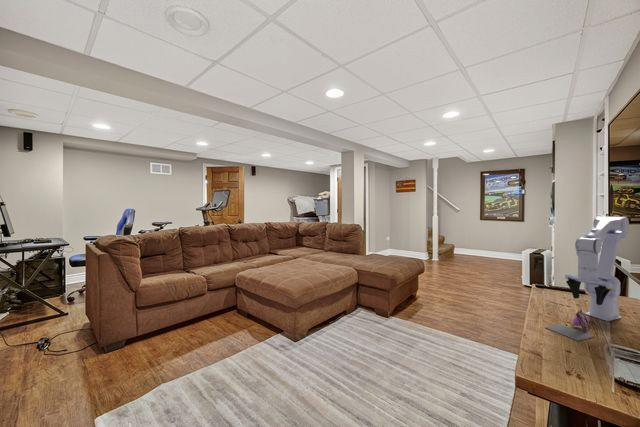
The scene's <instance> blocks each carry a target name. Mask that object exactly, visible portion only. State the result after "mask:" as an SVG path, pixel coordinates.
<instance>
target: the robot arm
mask: <svg viewBox="0 0 640 427" xmlns="http://www.w3.org/2000/svg"><path fill="white" fill-rule="evenodd" d="M629 220H630V219H629V218H628V217H626V216H598V215H597V216H595V217H594V218H593V222H592V223H593V224H592V225H593V228H591V229H589V230H588V231H587V232H586V233H585V234H584V235H583V237H579V238H577V239H576V240H575V243H574V244H575V245H574V248H575V251H576V254H575V255H576V256H577V274H571V273H567V274H565V276H564V278H565V280H566V281H565V282H566V284H567V286H568V287H569V289H570V292H571V293H572V298H573V299H574V300H575V299H580V290H581V289H580V287H581V284H582V283H584V284H583V287H584V290H585V292H586V293H587V294H588V295H589V311H585V316H590V317H593V318H596V319H600V320H603V321H605V322H609V321H613V320H619V319H622V318H623V317H622V316H620V302H619V299H618V298H619V297H620V295H621V281H620V280H619V279H618V278H617V277H615V276H614V275H613V273H614V268H615V264H616V258H617V254H618V250H619V244H620V242H621V240H623V239H626V238H627V236H628V231H629V229H630V221H629ZM599 253H600V254H599Z"/></svg>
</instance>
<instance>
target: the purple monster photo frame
mask: <svg viewBox="0 0 640 427" xmlns="http://www.w3.org/2000/svg"><path fill="white" fill-rule="evenodd" d="M585 313H586V311H585V310H583V309H582V308H581V309H579V311H577V312H576V313H575V317H573V318H572V320H571V321H572V325H571V326H570V327H571V328H574V326H576V327H581V329H582V332H584V333H587V332H588V330H589V329H590V328H591V325H590V321H589V319H588V318H587V315H586V314H585ZM585 323H587V325H588V326H587V327H586V324H585Z"/></svg>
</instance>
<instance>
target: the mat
mask: <svg viewBox="0 0 640 427" xmlns="http://www.w3.org/2000/svg"><path fill="white" fill-rule="evenodd" d="M544 329H546V330H549V331H552V332H554V333H557V334H558V335H561V336H563V337H567V338H569V339H571V340H574V341H576V342H581V341H586V340H590V339H592V338H596V336H595V335H593V334H589V333H587V332H586V333H584V331H583V330H578V329H576V328H574V327H571V326H568V325H565V324H564V323H557V324H553V325H550V326H545V327H544Z"/></svg>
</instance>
